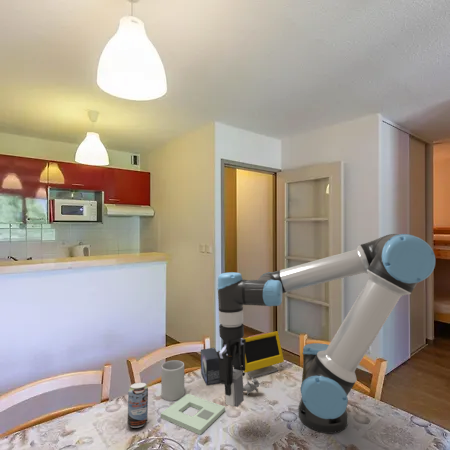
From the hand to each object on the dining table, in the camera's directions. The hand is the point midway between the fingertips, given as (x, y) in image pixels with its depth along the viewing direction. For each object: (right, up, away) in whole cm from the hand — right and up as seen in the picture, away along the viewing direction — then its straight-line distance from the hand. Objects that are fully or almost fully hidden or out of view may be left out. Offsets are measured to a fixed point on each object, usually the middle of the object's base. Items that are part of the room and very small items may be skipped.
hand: (234, 400), depth 93 cm
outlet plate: (-13, -9, +8) cm, 18 cm away
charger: (0, 0, 0) cm, 0 cm away
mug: (-22, -10, +22) cm, 33 cm away
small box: (-9, -10, +32) cm, 35 cm away
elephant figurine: (+6, -9, +19) cm, 22 cm away
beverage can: (-30, -9, +3) cm, 32 cm away
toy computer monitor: (+13, -10, +38) cm, 41 cm away
